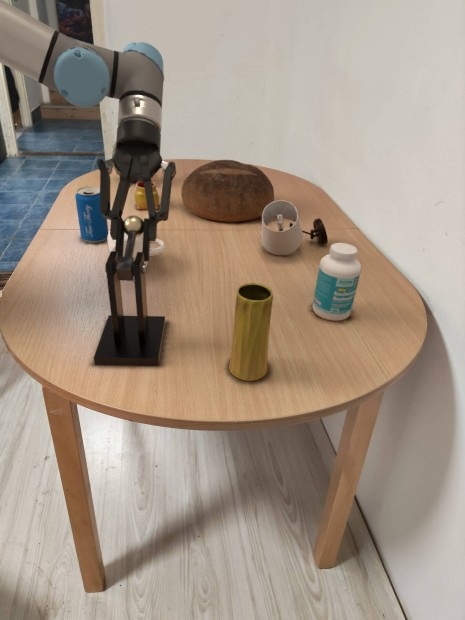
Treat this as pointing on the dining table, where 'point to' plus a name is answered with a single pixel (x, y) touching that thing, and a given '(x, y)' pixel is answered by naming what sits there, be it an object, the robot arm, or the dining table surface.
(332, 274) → the pill bottle
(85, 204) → the beverage can
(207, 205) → the bread
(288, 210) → the light fixture
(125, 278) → the lever
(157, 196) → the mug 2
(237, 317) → the vase
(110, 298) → the stand
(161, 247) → the mug
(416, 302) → the dining table surface
